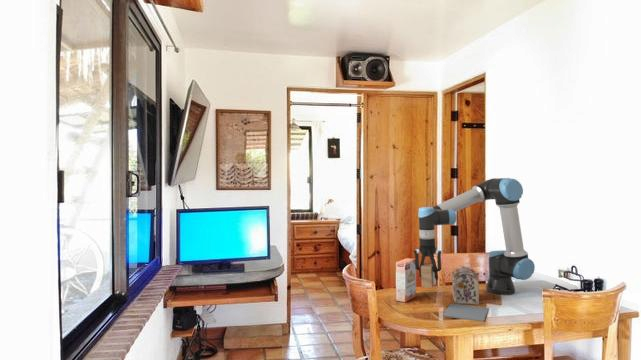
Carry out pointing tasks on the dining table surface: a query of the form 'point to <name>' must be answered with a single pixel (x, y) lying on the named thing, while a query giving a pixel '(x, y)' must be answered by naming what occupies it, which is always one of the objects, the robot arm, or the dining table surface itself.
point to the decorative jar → (465, 286)
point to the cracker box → (405, 280)
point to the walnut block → (427, 275)
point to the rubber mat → (466, 312)
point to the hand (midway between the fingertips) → (428, 284)
